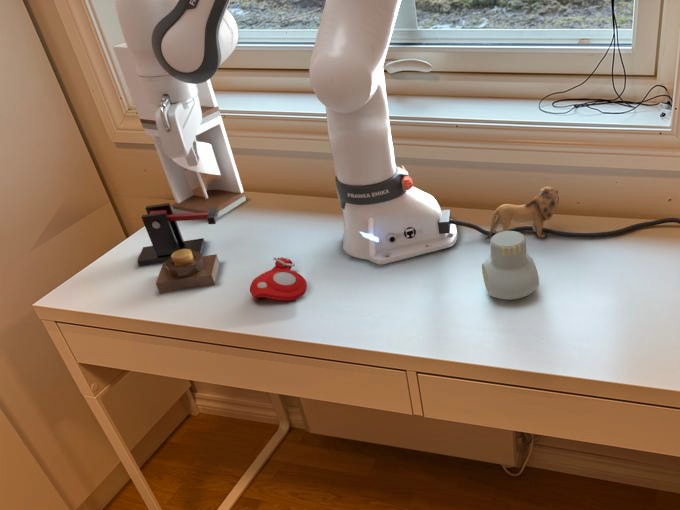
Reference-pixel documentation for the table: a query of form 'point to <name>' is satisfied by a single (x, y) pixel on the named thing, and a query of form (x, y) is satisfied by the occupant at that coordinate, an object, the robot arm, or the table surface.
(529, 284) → the air freshener
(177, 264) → the bell button
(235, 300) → the table surface
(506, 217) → the lion figurine
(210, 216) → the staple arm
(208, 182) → the display case
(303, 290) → the tracker holder
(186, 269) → the block
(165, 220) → the black lever base
